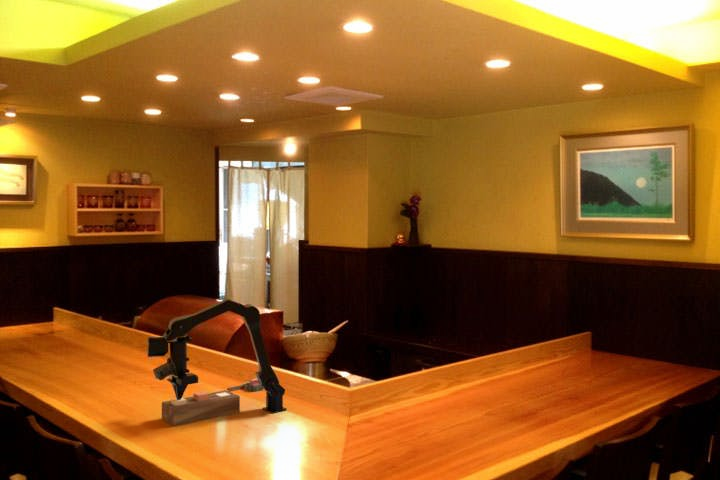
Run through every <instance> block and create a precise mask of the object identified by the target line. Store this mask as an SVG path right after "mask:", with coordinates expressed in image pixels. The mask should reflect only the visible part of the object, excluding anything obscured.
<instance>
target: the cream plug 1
mask: <svg viewBox="0 0 720 480" xmlns="http://www.w3.org/2000/svg"><path fill="white" fill-rule="evenodd" d="M184 398H185V397H182V398H181V400H177V398H171V399H170V401H171V404H172V405H174V406H179V405H184V404H187V400H186V399H184Z"/></svg>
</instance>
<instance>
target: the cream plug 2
mask: <svg viewBox="0 0 720 480" xmlns="http://www.w3.org/2000/svg"><path fill="white" fill-rule="evenodd" d="M215 395H216V396H218V397H226V396H231V395H230V394H228V393H226V392H224V393H219V394H215Z"/></svg>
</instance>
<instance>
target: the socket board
mask: <svg viewBox="0 0 720 480" xmlns="http://www.w3.org/2000/svg"><path fill="white" fill-rule="evenodd" d="M224 392H226V393H228V394H230V395H231V396H226V397H218V396H216V395H215V394H219V393H224ZM240 397H241V396H240V395H238V394H235V393H233V392H231V391H230V390H227V389H226V390H221V391H220V390H219V391H216V392H209V400H205V401H199V402H198V401H196V400H194V397H193V396H188V397H183V398H184V399H186V400H187V404H184V405H179V406H174V405H172V404H171V400H167V401H162V402H161V420H163V421H164V422H166V423H168V424H169V425H171V426H172V425H173V427H179V426H183V425H187V424H192V423H197V422H201V421H206V420H212V419H216V418H220V417H226V416H230V415H235V414H240V413H241V412H240V411H241V407H240V405H241V404H240V403H241V402H240V401H241V399H240ZM178 425H179V426H178Z"/></svg>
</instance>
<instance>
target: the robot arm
mask: <svg viewBox="0 0 720 480" xmlns="http://www.w3.org/2000/svg"><path fill="white" fill-rule="evenodd" d="M227 312H231V313H233V314H235V315H238V316H240V317H241V319H242V321H243V323H244V325H245V326H246V328H247V330H248V333H249V336H250V340H251V344H252V347H253V351H254V353H255V357H256V362H257V364H258V371H255V372H254V374H255V376H256V378H257V379H258V380H257V382H258V383H259V384H260V385H261V386H262V387H263V388H264V389H265V390H264V391H265V392H266V393H265V394H266V396H265V406H264V407H262V410H264V411H267V412H268V413H270V414H274V413H278V412H283V411H287V408H285V407H284V401H283V400H284V399H283V398H284V396H285V393H286V389H285V388H284V387H283V386H282V385H280V381H279V379H278V376H277V375H276V372H275V370H274V369H273V367H272V366H271V363H270V359H269V355H268V352H267V349H266V345H265V341H264V337H263V333H262V330H261V323H262V322H261V314H260V310H259V308H258V307H256V306H254V305H252V304H251V303H246V304H242V303H240V302H237V301H234V300H232V299H230V298H224V299H222V300H221V301H219V302H216V303H214V304H212V305H210V306H208V307H205V308H202V309H201V310H199V311H196V312H195V313H192V314H191V313H190V314H185V315H182V316H177V317H174V318H172V319H171V320H170V321H169V323H168V328H166V330H165V332H164V333H163V335H162V336H148V337H147V345H146V356H147V358H155V357H165V356H166V355H167V354H169V357H167V358H166V362H165V363H163V364H160V365H158V366H157V367H155V368H153V369H152V372H153V374H154V378H155V379H157V380H159V381H164V380H165V378H167V379H166V381H167V382H169V383H170V384H171V385H172V388H173V391H174V394H175V397H176V398H177V400H181V398H183V396H184V394H185V392H186V389H187V387H188V385H194V384H199V375H197V374H195V373H193V372H190V369H189V368H188V362H190V357H188V344H187V343H189V342H190V343H192V342H193V338H191V337H190V335H189V334H188V333H190V332H191V331H192V330H194V329H195V328H196V327H197V326H199V325H200V324H203V323H205V322H207V321H209V320H211V319H214V318H217V317H218V316H221V315H223V314H226V313H227ZM176 398H175V399H176Z"/></svg>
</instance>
